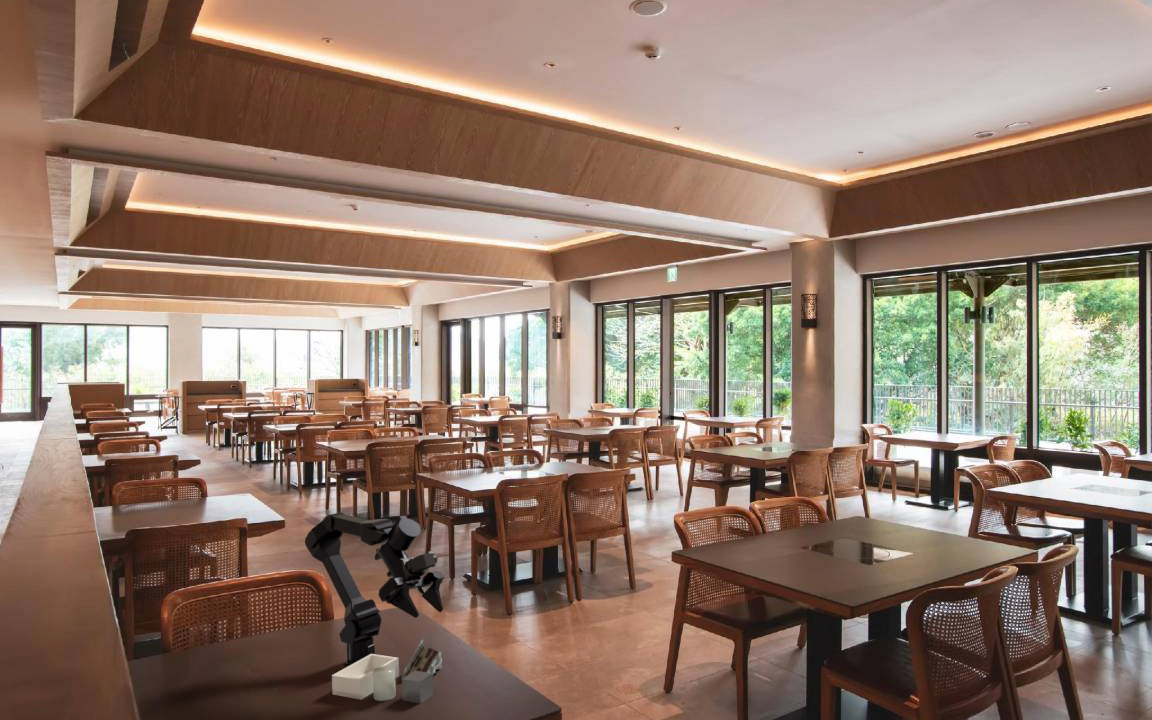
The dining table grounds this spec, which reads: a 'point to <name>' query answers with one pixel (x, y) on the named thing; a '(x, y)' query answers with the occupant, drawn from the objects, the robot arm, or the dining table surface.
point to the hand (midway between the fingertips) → (429, 613)
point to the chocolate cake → (423, 661)
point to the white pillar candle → (384, 683)
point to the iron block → (417, 687)
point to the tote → (361, 676)
